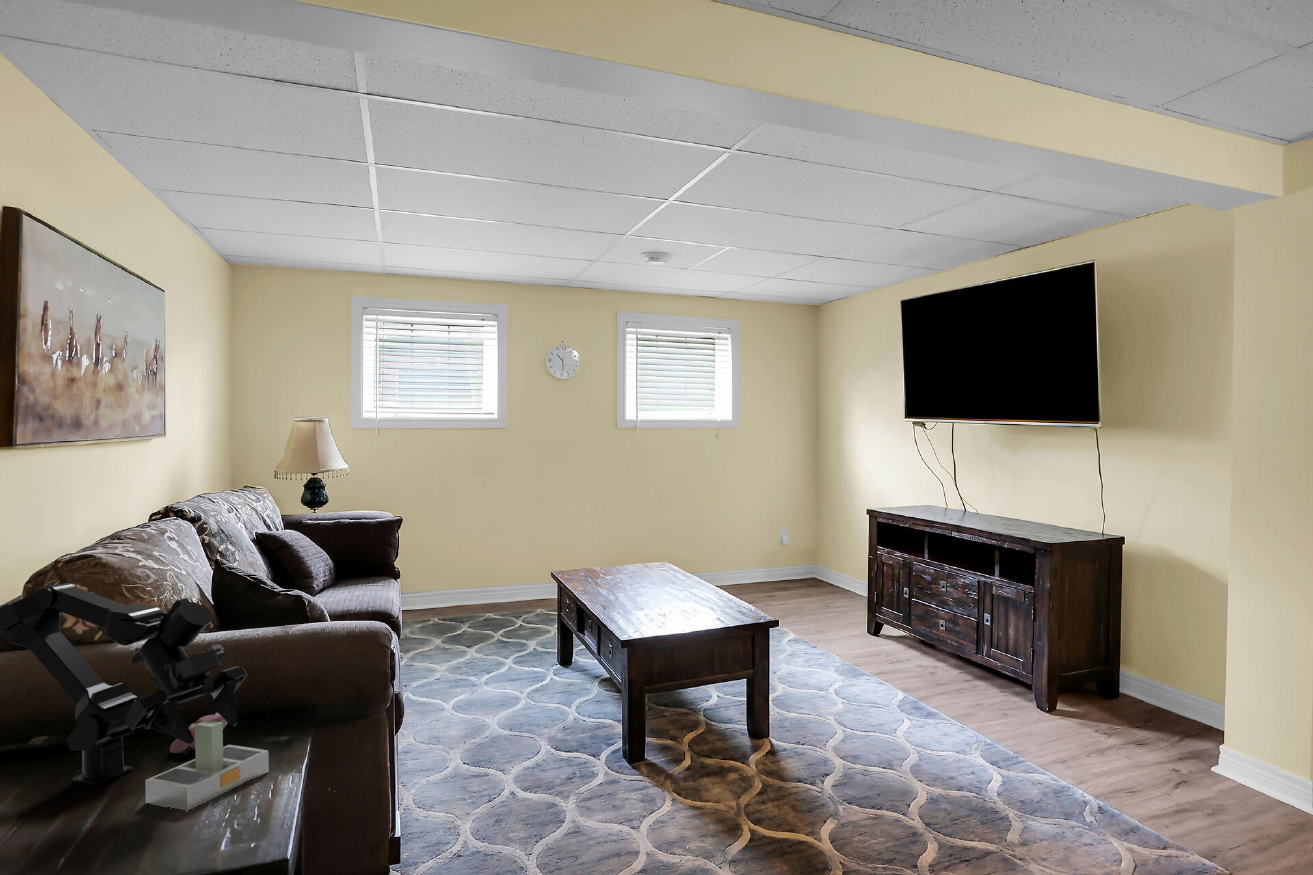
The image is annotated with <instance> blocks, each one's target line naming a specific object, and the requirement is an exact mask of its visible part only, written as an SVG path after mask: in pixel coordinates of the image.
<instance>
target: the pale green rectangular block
mask: <svg viewBox="0 0 1313 875" xmlns="http://www.w3.org/2000/svg"><path fill="white" fill-rule="evenodd" d="M223 730H224V729H223ZM223 730H222V722H215V721H207V720H206V721H203V722H200V723H198V724H195V749H194V750H195V759H196V769H199V770H205V771H211V772H216V773H217V772H219V771H221V770H223V747H224V743H223V742H224V740H223V737H224V734H223Z"/></svg>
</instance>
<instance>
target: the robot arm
mask: <svg viewBox="0 0 1313 875" xmlns="http://www.w3.org/2000/svg"><path fill="white" fill-rule="evenodd" d="M62 613H63V614H66V615H69V616H71V617H74V618H75V619H79V620H81V621H84V622H87V623H89V624H92V625H94V626H97V627H99V628H101V629H102V630H103V632H104V635H105V637H107V638H108V639H110V640H112V641H113V642H115V643H117V644H119V645H120V646H129V645H133V644H136V643H141V642H143V641H145V642H144V643H143V644H142V646H140V647H136V648H135V651H134V653H133V656H132V659H131V664H132V665H135V664H136V665H137V664H141V663H144V664H145V665H146V668H147V670H149V672H150V673H151V675H152V677H153V678H154V679H153V680H152V682H151V685H152V687H153V688H160V689H159V690H156V691H152V692H149V693H146V694H143V695H139V696H136V695H135V694H133V693H132V692H131V691H130V689H129V687H128V686H127V685H126V684H125V683H123V682H120V683H118V684H115V685H109V684H107V683H105V682H104V681H103V680H102V678H101V677H100V676H99V675H98V674H97V672H96V671H95V669H93V668H92V667H91V666H90V664H89V663H88V662H87V661H86V660H85V658H84V657H83V656H82V655H81V654H80V653H79V651H78V650H77V649H76V648H75V647H74V645H72V643H71V642H70V641H69V640H68V639H67V637H65V635H64V634H63V633H62V631H61V629H60V628H61V619H62V618H61V615H60V614H62ZM212 620H213V614H212V612H211V610H210V609H209V608H208V607H206V606H204V605H202V604H200V603H198V602H195V601H190V600H189V599H188V598H187V597H183V598H180V599H176V600H175V602H174V603H173V604H172V606H171V608H169V610H168V611H167V612H164V611H163V610H162V609H160V608H159V607H158V606H153V605H145V604H127V603H126V604H125V603H120V602H117V601H116V600H112V599H109V598H107V597H104V596H101V595H99V594H96V593H93V592H91V591H88V590H85V589H83V588H80V587H77V585H76V584H74V583H69V582H65V583H58V584H54V585H48V586H45V587H43V588H41V589H39V590H38V591H36V592H35V593H32V594H31V595H28V596H26V597H24V598H22V599H19V600H17V601H14V602H12V603H8V604H5V605H2V606H1V607H0V635H1V636H2V637H3V638H4V639H5V640H7V641H8V642H9V643H11V644H15V645H17V646H21V647H25V648H26V649H29V650H30V651H31V653H33V654H34V656H35V657H36V658H37V659H38V661H39V662H40V663H41V665H43V667H44V668H45V669H46V670H47V671H48V672H49V673H50V676H52V677H53V678H54V680H55V681H56V682H57V683H58V684H59V685H60V687H61V688H62V689H63V690H64V692H65V693H66V694H67V695H68V696H69V697H70V699H71V700H72V701H73V702H74V704H75V713H74V714H75V716H74V721H75V722H76V724H77V725H76V727H75V728H74V729H73V731H71V733H70V734H69V736H68V737H67V738H66V743H67V746H68V749H69V751H75V752H76V751H79V752H81V755H82V756H81V760H82V761H81V763H82V765H81V766H82V768H81V769H82V770H81V772H82V773H81V774H79V775H76V776H74V777H73V778H72V781H73V782H78V783H81V784H82V783H83V784H87V785H98V784H102V783H103V782H105V781H109V780H110V779H113V778H116V777H118V776H120V775H122V774H125V773H128V772H130V771H133V766H130V765H129V766H128V765H124V764H125V762H124V740H123V738H124V737H125V736H128V735H132V734H133V733H135V730H137V729H139V728H144V729H145V730H150V729H152V730H154V731H157V732H161V733H164V734H166V735H168V736H171V737H173V738H175V739H179V740H182V741H184V742H186V743H188V744H191V743H192V742H193V741H194V737H193V735H192V733H191V731H190V730H189V728H188V727H189V726H188V725H187V723H186V722H185V720H184V719H183V717H182V716H181V714H180V712H179V708H178V706H179V705H180V704H183V703H186V702H189V701H192V700H194V699H197V698H201V697H203V696H207V695H209V697H210V698H211V699H213V701H212V702H211V703H210V705H211V707H212V708H213V709H214V710H215V711H216V713H218V714H219V715H221V716H222V717H223V718H224V719H225V720H226V721H227V722H228V723H227V724H229V725H230V726H232V727H235V726H236V725H237V724H238V714H237V709H236V702H235V693H236V692H237V690H238V689H239V688H240V686H241V685H242V684H243V682H244V681H245V680H246V678H247V677H248V675H249V674H248V673H247V671H246V670H245V669H244V667H243V666H241V665H235V666H232V667H229V668H225V669H222V670H219V672H218V673H217V674H216V676H215V677H214V679H213V680H212V681H209V682H205V680H207V679H209V678H210V676H211V675H212V673H211V671H212V670H214V669H215V668H219V667H221V666H222V663H223V662H224V661H226V660H227V659H228V658H227V657H228V654H227V652H226V650H225V648H224V647H223V646H222V645H221V644H220V643H219V644H213V645H211V646H210V647H209V648H206V649H205V651H202V652H197V653H195V654H192V655H191V654H190V655H188V654H187V653H186V652H185V650H184V648H183V647H188V646H191V645H192V643H193V642H194V641H195V640H196V639H197V637H199V635H200V634H201V633H202V632H203V630H205V628H206V627H207V626H208V625H209V624H210V622H211V621H212Z"/></svg>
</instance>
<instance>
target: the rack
mask: <svg viewBox="0 0 1313 875" xmlns="http://www.w3.org/2000/svg"><path fill="white" fill-rule="evenodd" d="M269 757H270V756H269V750H267V749H262V748H254V747H248V746H242V745H241V746H240V745H233V744H227V745H225V746H223V770H221V771H219V772H217V773H216V772H211V771H205V770H199V769H196V758H194V759H192V760H190V761H187V762H185V763H182V764H180V765H178V766H175V767H173V768H171V769H168V770H165V771H163V772H161V773H159V774H157V775H154V776H151V777H149V778H147V779H145V781H144V783H145V804H147V803H149V805H152V806H157V805H158V807H163V808H167V807H170V808H169V809H172V808H175V809H174V810H177V809H183V810H186V811H185V812H189V811H188V810H189V809H192V810H193V808H194V809H196V808H198V807H199V806H198V805H200V806H202V805H204V804H205V803H206V804H207V803H208V802H210V801H211V800H210V799H212V800H214V799H216V798H218V797H220V796H221V795H220V794H222V795H223V793H224V792H226V793H228V792H229V791H228V790H230V789H232V788H234V787H236V786H239V785H241V784H243V783H244V782H246V781H249V780H251V779H253V780H255V779H257V778H259V777H261V776H263V775H266V774H267V773H269V772H270V766H269V764H270V762H269V760H270V759H269ZM256 777H257V778H256ZM254 778H255V779H254ZM251 781H252V780H251ZM249 782H250V781H249ZM243 785H244V784H243ZM241 786H242V785H241ZM239 787H240V786H239ZM227 791H228V792H227ZM230 791H231V790H230ZM224 794H225V793H224ZM219 795H220V796H219ZM217 796H218V797H217ZM215 797H216V798H215ZM213 798H214V799H213ZM209 800H210V801H209ZM207 801H208V802H207ZM203 803H204V804H203ZM201 804H202V805H201ZM197 806H198V807H197ZM195 807H196V808H195ZM176 808H177V809H176Z"/></svg>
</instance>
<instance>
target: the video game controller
mask: <svg viewBox="0 0 1313 875" xmlns="http://www.w3.org/2000/svg"><path fill="white" fill-rule="evenodd" d="M206 720H207V721H215V722H222V730H224V729H225V728H226V726H227V725H228V724H229V723H228V722H227V721H226V720H225V719H224V718H223V717H222V716H221V715H220V714H219V713H218V712H215V714H209V715H204V716H202V717H200V718H199V719H198V720H196V721H195V722H194V723H191V724H190V725H189V726H188V728H189V730H190V731H191V733H192V735H193V737H194V741H193V742H192V743H191V744H188V743H186V742H184V741H182V740H179V739H177V738H175V739H174V741H173V742H172V743H171V744H170V748H169V751H170V753H171V754H172V753H177V754H180V753H182V752H184V751H185V750H186V749H188V748H189V747H190V748H192V749H193V750H195V724H198V723H200V722H203V721H206Z"/></svg>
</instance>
